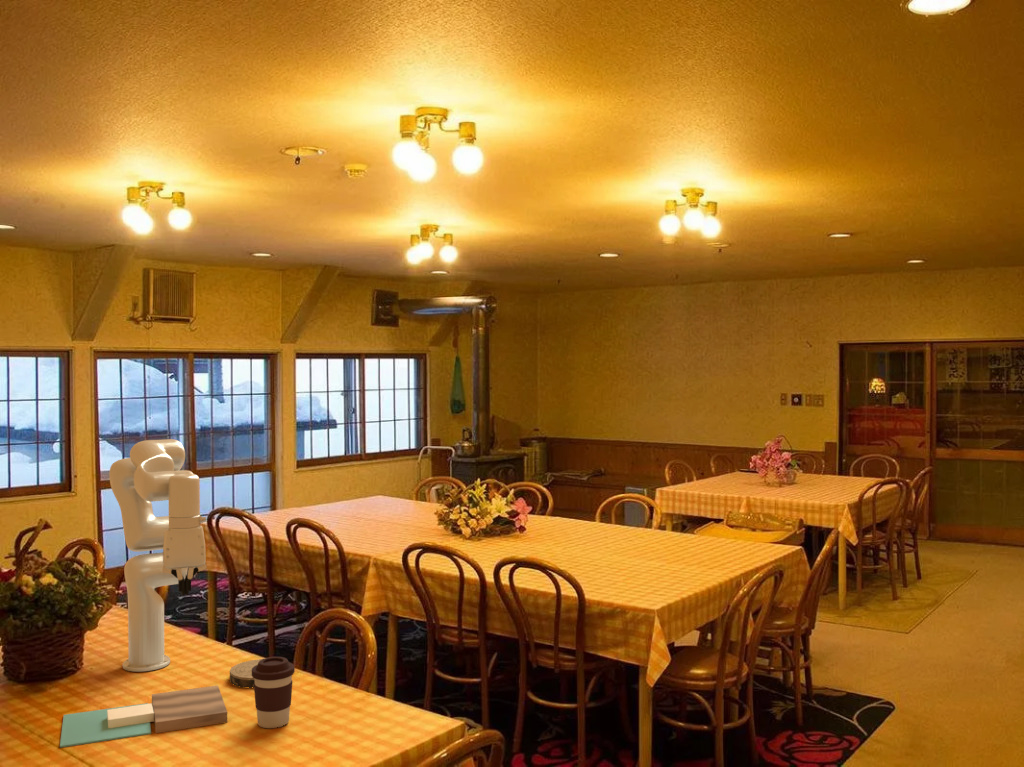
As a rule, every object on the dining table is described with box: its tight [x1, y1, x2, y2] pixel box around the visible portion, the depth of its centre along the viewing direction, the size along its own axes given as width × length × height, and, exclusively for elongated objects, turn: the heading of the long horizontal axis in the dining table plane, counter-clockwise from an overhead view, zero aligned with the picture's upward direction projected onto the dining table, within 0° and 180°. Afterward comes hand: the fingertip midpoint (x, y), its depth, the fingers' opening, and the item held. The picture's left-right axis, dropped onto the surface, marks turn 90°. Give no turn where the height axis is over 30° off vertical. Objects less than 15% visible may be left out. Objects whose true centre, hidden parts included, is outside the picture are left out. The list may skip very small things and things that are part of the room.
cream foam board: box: [107, 702, 154, 728], centre depth 219 cm, size 7×10×2 cm
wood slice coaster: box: [229, 658, 263, 689], centre depth 250 cm, size 16×16×3 cm
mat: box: [59, 702, 152, 748], centre depth 217 cm, size 20×19×1 cm
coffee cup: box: [252, 656, 296, 729], centre depth 218 cm, size 10×10×15 cm
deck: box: [151, 684, 228, 734], centre depth 224 cm, size 20×16×2 cm
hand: (184, 594), depth 233 cm, fingers closed
